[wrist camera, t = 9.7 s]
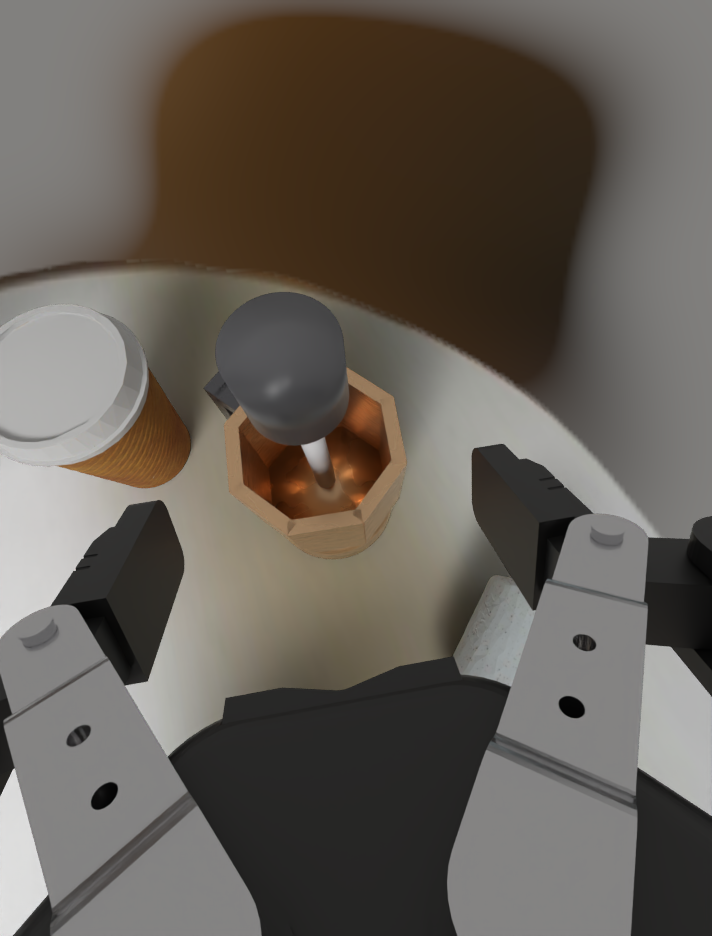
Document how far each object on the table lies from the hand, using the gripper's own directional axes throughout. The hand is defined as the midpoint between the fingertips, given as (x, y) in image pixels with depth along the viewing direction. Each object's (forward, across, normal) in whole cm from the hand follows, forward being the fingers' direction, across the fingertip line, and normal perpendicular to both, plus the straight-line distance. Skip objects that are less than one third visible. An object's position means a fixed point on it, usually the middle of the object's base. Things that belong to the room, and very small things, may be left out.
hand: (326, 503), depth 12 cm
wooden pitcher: (+20, -1, -11) cm, 22 cm away
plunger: (+15, 0, -7) cm, 17 cm away
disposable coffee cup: (+24, -14, -7) cm, 28 cm away
